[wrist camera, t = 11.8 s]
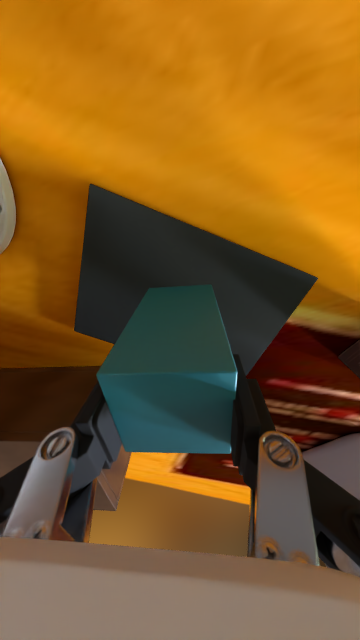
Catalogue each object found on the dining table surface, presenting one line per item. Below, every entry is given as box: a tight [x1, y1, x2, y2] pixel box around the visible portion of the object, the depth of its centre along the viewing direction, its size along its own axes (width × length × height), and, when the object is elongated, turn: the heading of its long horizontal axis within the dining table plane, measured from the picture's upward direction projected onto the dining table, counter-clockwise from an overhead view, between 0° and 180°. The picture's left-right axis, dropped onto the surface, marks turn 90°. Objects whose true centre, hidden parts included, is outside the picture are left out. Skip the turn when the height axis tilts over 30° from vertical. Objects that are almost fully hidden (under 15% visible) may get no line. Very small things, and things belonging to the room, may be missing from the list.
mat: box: [74, 184, 318, 376], centre depth 19 cm, size 20×14×1 cm
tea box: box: [96, 285, 238, 454], centre depth 12 cm, size 5×5×10 cm
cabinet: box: [0, 366, 131, 511], centre depth 23 cm, size 16×14×9 cm
